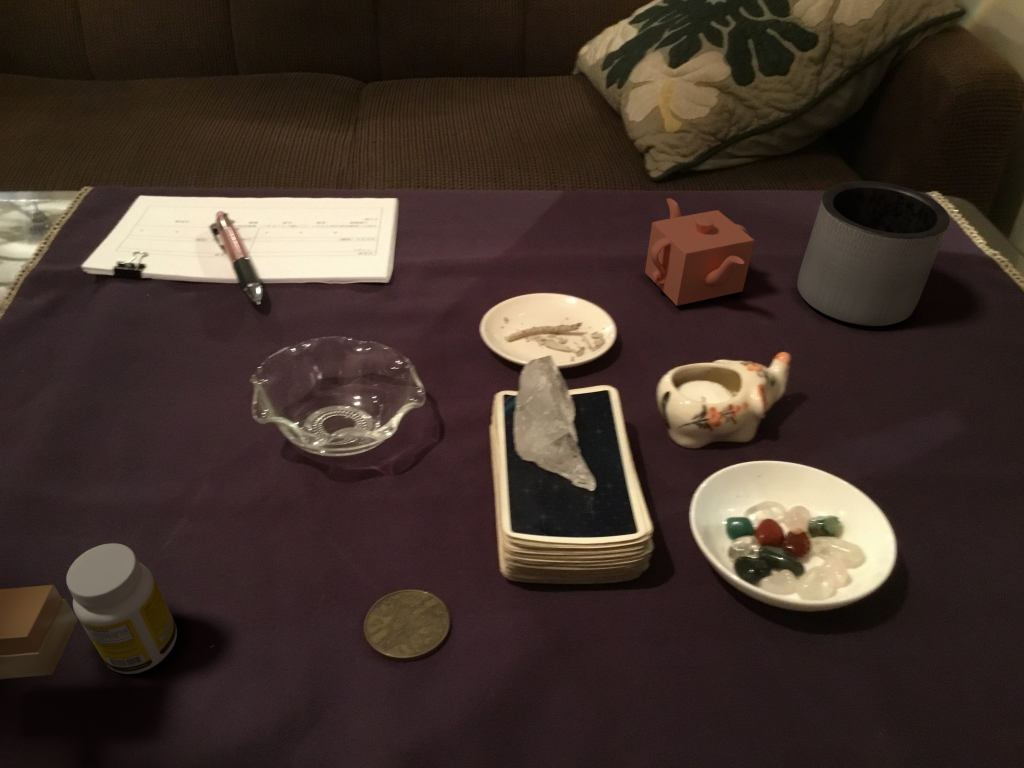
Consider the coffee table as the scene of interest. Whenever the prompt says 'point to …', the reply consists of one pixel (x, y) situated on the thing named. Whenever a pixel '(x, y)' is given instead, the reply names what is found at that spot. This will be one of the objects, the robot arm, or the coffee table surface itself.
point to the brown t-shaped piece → (33, 630)
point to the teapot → (698, 255)
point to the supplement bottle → (121, 608)
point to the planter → (871, 252)
